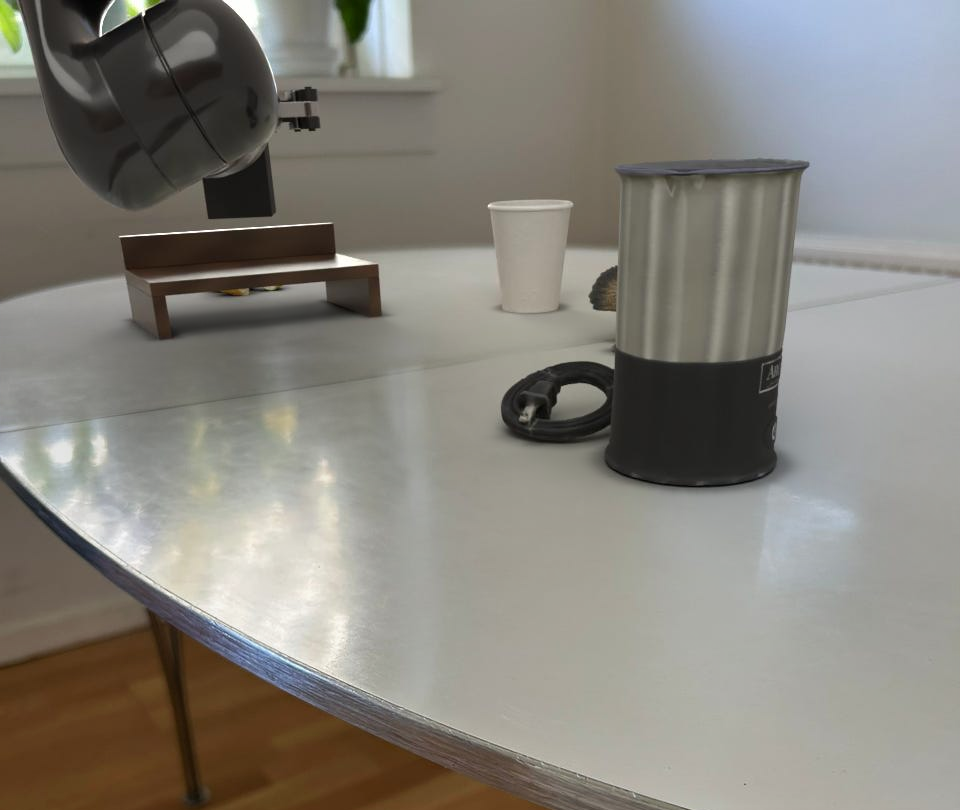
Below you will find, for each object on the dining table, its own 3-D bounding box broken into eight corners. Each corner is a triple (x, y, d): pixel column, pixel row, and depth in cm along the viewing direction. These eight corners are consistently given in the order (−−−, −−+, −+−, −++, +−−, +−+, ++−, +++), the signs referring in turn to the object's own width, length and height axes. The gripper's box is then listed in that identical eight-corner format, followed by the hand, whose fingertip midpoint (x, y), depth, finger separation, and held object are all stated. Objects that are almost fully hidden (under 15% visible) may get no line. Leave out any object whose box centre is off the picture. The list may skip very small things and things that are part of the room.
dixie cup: (574, 314, 98) (576, 204, 93) (489, 316, 98) (487, 206, 94) (568, 301, 105) (570, 198, 101) (490, 303, 106) (488, 200, 101)
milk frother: (784, 494, 49) (824, 162, 43) (471, 483, 52) (462, 169, 45) (762, 419, 62) (791, 154, 55) (511, 414, 64) (509, 159, 58)
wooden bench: (159, 340, 91) (143, 247, 87) (133, 320, 101) (118, 236, 98) (382, 316, 100) (376, 230, 96) (337, 300, 110) (330, 222, 106)
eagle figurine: (597, 319, 89) (565, 315, 81) (647, 248, 85) (619, 237, 77) (663, 372, 88) (637, 374, 80) (716, 302, 84) (695, 296, 76)
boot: (272, 216, 75) (256, 80, 71) (208, 219, 75) (188, 82, 71) (279, 208, 83) (265, 85, 79) (221, 211, 83) (203, 87, 79)
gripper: (316, 36, 60) (321, 55, 75) (73, 43, 59) (128, 61, 74) (329, 172, 64) (331, 164, 79) (100, 182, 63) (147, 172, 78)
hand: (233, 114), depth 76 cm, fingers closed on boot, 4 cm apart
